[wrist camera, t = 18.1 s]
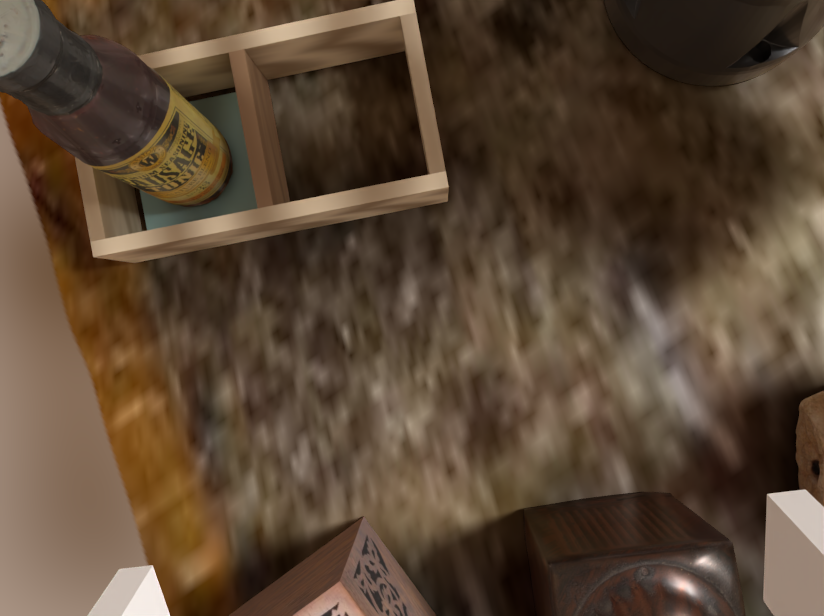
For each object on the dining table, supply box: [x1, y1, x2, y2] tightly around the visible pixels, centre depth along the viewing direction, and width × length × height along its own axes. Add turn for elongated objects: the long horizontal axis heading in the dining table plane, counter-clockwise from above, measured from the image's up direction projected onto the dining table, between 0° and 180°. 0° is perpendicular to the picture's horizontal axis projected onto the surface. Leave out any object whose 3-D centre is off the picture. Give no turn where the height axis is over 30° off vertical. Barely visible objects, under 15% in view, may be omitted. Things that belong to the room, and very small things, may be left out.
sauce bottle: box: [0, 0, 233, 207], centre depth 32 cm, size 6×6×20 cm
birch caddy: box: [75, 0, 449, 263], centre depth 39 cm, size 23×12×5 cm, turn 101°
